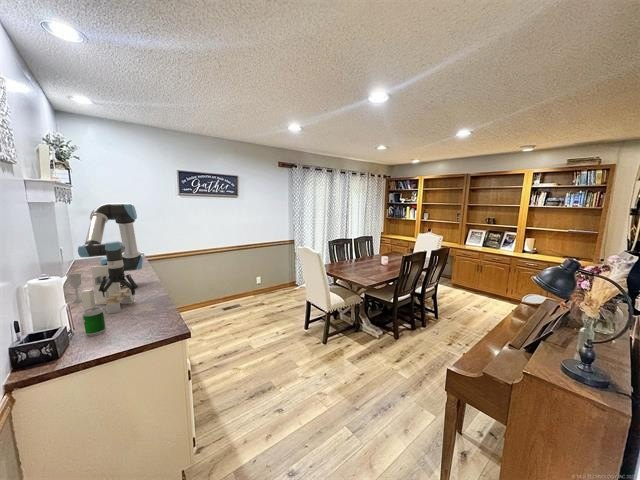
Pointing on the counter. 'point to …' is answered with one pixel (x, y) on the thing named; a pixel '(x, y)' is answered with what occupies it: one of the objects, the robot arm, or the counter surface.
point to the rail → (118, 296)
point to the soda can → (94, 321)
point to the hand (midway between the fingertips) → (120, 301)
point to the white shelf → (97, 280)
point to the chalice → (75, 285)
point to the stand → (117, 305)
